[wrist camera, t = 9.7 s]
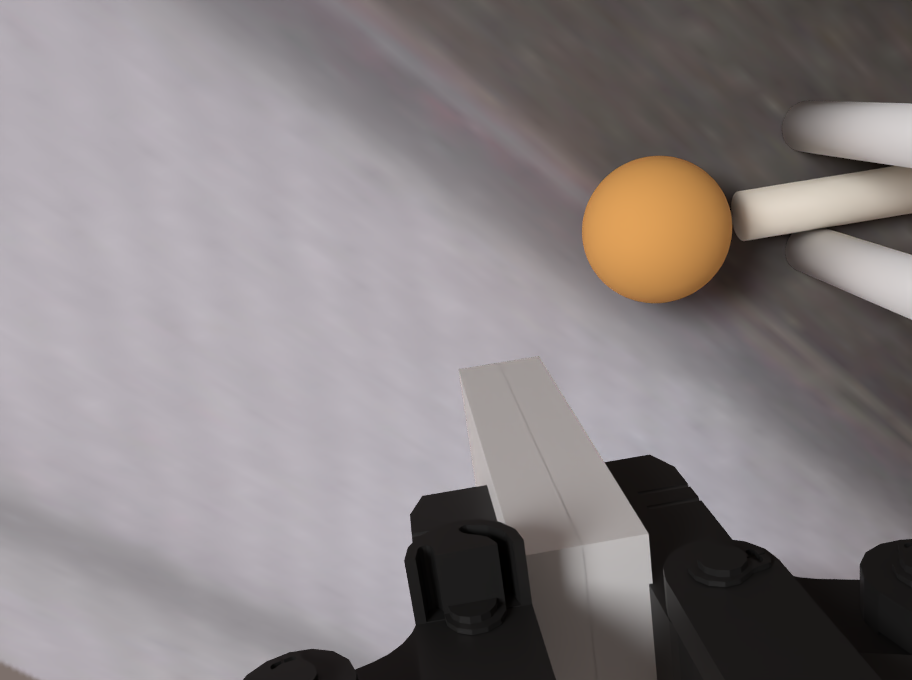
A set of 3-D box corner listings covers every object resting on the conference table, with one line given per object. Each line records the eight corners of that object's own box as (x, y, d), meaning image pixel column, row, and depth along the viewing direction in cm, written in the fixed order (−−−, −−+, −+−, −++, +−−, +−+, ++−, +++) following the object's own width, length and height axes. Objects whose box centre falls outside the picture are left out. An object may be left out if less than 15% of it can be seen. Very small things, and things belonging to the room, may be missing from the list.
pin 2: (831, 221, 36) (975, 263, 27) (831, 267, 36) (973, 323, 28) (784, 228, 36) (915, 273, 27) (785, 275, 36) (914, 333, 28)
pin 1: (829, 97, 34) (982, 100, 26) (829, 147, 35) (979, 167, 26) (781, 104, 34) (918, 110, 26) (782, 155, 35) (916, 177, 26)
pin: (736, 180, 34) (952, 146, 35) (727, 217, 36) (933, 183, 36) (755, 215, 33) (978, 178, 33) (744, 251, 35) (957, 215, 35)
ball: (647, 173, 28) (547, 166, 32) (655, 333, 30) (559, 304, 34) (764, 146, 30) (655, 143, 35) (765, 295, 32) (661, 273, 37)
